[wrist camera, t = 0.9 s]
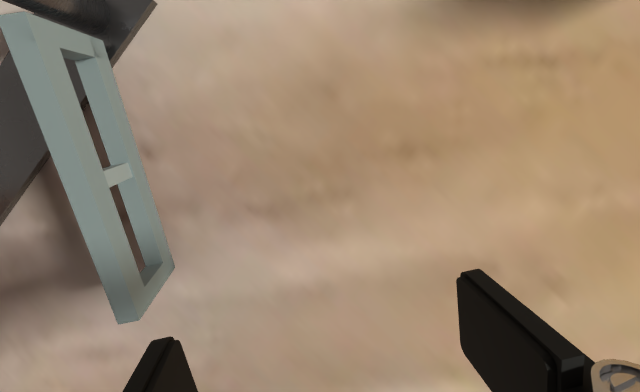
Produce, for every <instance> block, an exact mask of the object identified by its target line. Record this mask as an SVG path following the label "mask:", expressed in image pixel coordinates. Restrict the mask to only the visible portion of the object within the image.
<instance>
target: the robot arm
mask: <svg viewBox="0 0 640 392" xmlns="http://www.w3.org/2000/svg"><path fill="white" fill-rule="evenodd" d="M456 283H457V298H458V314H459V329H460V343H461V348H462V350H463V352H464V354H465V356H466V357H467V358H468V360H469V361H470V363H471V364H472V365H473V367H474V368H475V369H476V371H477V372H478V373H479V375H480V376H481V377H482V379H483V380H484V382H485V383H486V384H487V386H488V387H489V388H490V390H491V391H492V392H640V365H638V364H634V363H631V362H628V361H623V360H616V359H607V360H601V361H599V362H596V363H595V362H594V361H592V360H591V359H590V358H589V357H587V356H586V355H585V354H584V353H582V352H581V351H580V350H579V349H578V348H576V347H575V346H574V345H573V344H571V343H570V342H569V341H568V340H567V339H565V338H564V337H563V336H562V335H560V334H559V333H558V332H557V331H556V330H554V329H553V328H552V327H551V326H549V325H548V324H547V323H546V322H545V321H543V320H542V319H541V318H540V317H538V316H537V315H536V314H535V313H534V312H532V311H531V310H530V309H529V308H527V307H526V306H525V305H523V304H522V303H521V302H520V301H518V300H517V299H516V298H515V297H514V296H512V295H511V294H510V293H509V292H507V291H506V290H505V289H504V288H503V287H501V286H500V285H499V284H498V283H496V282H495V281H494V280H493V279H492V278H490V277H489V276H488V275H487V274H485V273H484V272H483V271H482V270H480V269H475V270H470V271H466V272H462V273H461V275H460V277H459V278H457V282H456ZM123 392H198V391H197V388H196V385H195V382H194V379H193V377H192V374H191V371H190V368H189V365H188V363H187V360H186V357H185V354H184V351H183V348H182V346H181V343H180V341H179V340H174V338H173V337H166V338H162V339H157V340H153V341H151V343H150V344H149V346H148V348H147V349H146V351H145V353H144V355H143V356H142V358H141V360H140V362H139V364H138V365H137V367H136V369H135V371H134V372H133V374H132V376H131V378H130V379H129V381H128V383H127V385H126V387H125V388H124V390H123Z"/></svg>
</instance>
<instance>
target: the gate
mask: <svg viewBox="0 0 640 392" xmlns="http://www.w3.org/2000/svg"><path fill="white" fill-rule="evenodd" d="M0 27H1V29H2V32H3V35H4V37H5V40H6V42H7V45H8V47H9V50H10V52H11V55H12V57H13V60H14V62H15V65H16V67H17V70H18V72H19V75H20V78H21V80H22V83H23V85H24V88H25V90H26V93H27V95H28V98H29V100H30V103H31V105H32V108H33V110H34V113H35V115H36V118H37V121H38V123H39V126H40V128H41V131H42V133H43V136H44V138H45V141H46V143H47V146H48V148H49V151H50V153H51V156H52V158H53V161H54V164H55V166H56V169H57V171H58V174H59V176H60V179H61V181H62V184H63V186H64V189H65V191H66V194H67V196H68V199H69V201H70V204H71V206H72V209H73V212H74V214H75V217H76V219H77V222H78V224H79V227H80V229H81V232H82V234H83V237H84V239H85V242H86V244H87V247H88V249H89V252H90V255H91V257H92V260H93V262H94V265H95V267H96V270H97V272H98V275H99V277H100V280H101V282H102V285H103V287H104V290H105V292H106V295H107V298H108V300H109V303H110V305H111V308H112V310H113V313H114V315H115V318H116V320H117V323H118V324H123V323H128V322H133V321H138V320H140V319H141V317H142V316H143V314H144V313H145V311H146V310H147V308H148V307H149V305H150V304H151V302H152V301H153V299H154V298H155V297H156V295H157V294H158V292H159V291H160V289H161V288H162V286H163V285H164V283H165V282H166V280H167V279H168V277H169V276H170V274H171V273H172V271H173V270H174V268H175V265H174V262H173V259H172V256H171V253H170V250H169V247H168V243H167V240H166V237H165V234H164V231H163V228H162V225H161V221H160V218H159V215H158V212H157V209H156V206H155V203H154V200H153V196H152V193H151V190H150V187H149V184H148V181H147V178H146V174H145V171H144V168H143V165H142V162H141V159H140V156H139V152H138V149H137V146H136V143H135V140H134V137H133V134H132V130H131V127H130V124H129V121H128V118H127V115H126V112H125V109H124V105H123V102H122V99H121V96H120V93H119V90H118V87H117V83H116V80H115V77H114V74H113V71H112V68H111V65H110V61H109V58H108V55H107V52H106V49H105V46H104V43H103V40H100V39H97V38H95V37H92V36H89V35H87V34H84V33H81V32H78V31H76V30H73V29H70V28H68V27H65V26H62V25H60V24H57V23H54V22H52V21H49V20H46V19H43V18H41V17H38V16H35V15H33V14H30V13H27V12H18V13H11V14H4V15H0ZM63 58H66V59H70V60H74V61H75V64H76V66H77V69H78V72H79V75H80V78H81V81H82V84H83V87H84V90H85V92H86V95H87V98H88V101H89V104H90V107H91V110H92V113H93V115H94V118H95V121H96V124H97V127H98V130H99V133H100V136H101V139H102V141H103V144H104V147H105V150H106V153H107V156H108V159H109V162H110V165H111V166H109V167H106V168H103V169H102V166H101V163H100V160H99V158H98V155H97V152H96V149H95V146H94V143H93V141H92V138H91V135H90V132H89V129H88V127H87V124H86V121H85V118H84V115H83V112H82V110H81V107H80V104H79V101H78V98H77V96H76V93H75V90H74V87H73V84H72V81H71V79H70V76H69V73H68V70H67V67H66V65H65V62H64V59H63ZM116 184H117V185H118V188H119V190H120V193H121V196H122V199H123V202H124V205H125V208H126V211H127V214H128V216H129V219H130V222H131V225H132V228H133V231H134V234H135V237H136V240H137V242H138V245H139V248H140V251H141V254H142V257H143V260H144V263H145V265H146V267H145V268H144V269H143V270H142V271H141V272H140V273H139V270H138V267H137V265H136V262H135V259H134V256H133V253H132V250H131V248H130V245H129V242H128V239H127V236H126V234H125V231H124V228H123V225H122V222H121V220H120V217H119V214H118V211H117V208H116V205H115V203H114V200H113V197H112V194H111V191H110V189H109V188H110V187H112V186H114V185H116Z"/></svg>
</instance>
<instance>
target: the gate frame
mask: <svg viewBox="0 0 640 392" xmlns="http://www.w3.org/2000/svg"><path fill="white" fill-rule="evenodd" d="M3 1H5V2H8V3H10V4H13V5H16V6H18V7H21V8H23V9H26V10H29V11H31V12H34V14H33V15H35V16H38V17H41V18H43V19H46V20H49V21H52V22H54V23H57V24H60V25H62V26H65V27H68V28H70V29H73V30H76V31H78V32H81V33H84V34H87V35H89V36H92V37H95V38H97V39H100V40H103V43H104V46H105V49H106V52H107V55H108V58H109V61H110V65H111V68H112V67H113V66H114V65H115V63H116V62H117V60H118V59H119V58H120V56H121V55H122V53H123V52H124V51H125V49H126V48H127V46H128V45H129V43H130V42H131V41H132V39H133V38H134V36H135V35H136V34H137V32H138V31H139V29H140V28H141V27H142V25H143V24H144V22H145V21H146V19H147V18H148V17H149V15H150V14H151V12H152V11H153V10H154V8H155V7H156V5H157V3H156V2H155V1H154V0H3ZM63 59H64V62H65V65H66V67H67V70H68V73H69V76H70V79H71V81H72V84H73V87H74V90H75V93H76V96H77V98H78V101H79V104H80V107H81V110H83V108H84V107H85V106H86V104H87V103H88V98H87V95H86V92H85V90H84V87H83V84H82V81H81V78H80V75H79V72H78V69H77V66H76V64H75V61H74V60H70V59H66V58H63ZM50 155H51V153H50V151H49V148H48V146H47V143H46V141H45V138H44V136H43V133H42V131H41V128H40V126H39V123H38V121H37V118H36V115H35V113H34V110H33V108H32V105H31V103H30V100H29V98H28V95H27V93H26V90H25V88H24V85H23V83H22V80H21V78H20V75H19V72H18V70H17V67H16V65H15V62H14V60H13V57H12V55H11V52H10V51H9V53H8V54H7V56H6V57H5V59H4V60H3V62H2V63H1V65H0V226H1V224H2V223H3V222H4V220H5V219H6V217H7V216H8V214H9V213H10V212H11V210H12V209H13V207H14V206H15V205H16V203H17V202H18V200H19V199H20V198H21V196H22V195H23V193H24V192H25V190H26V189H27V188H28V186H29V185H30V183H31V182H32V181H33V179H34V178H35V176H36V175H37V174H38V172H39V171H40V169H41V168H42V166H43V165H44V164H45V162H46V161H47V159H48V158H49V157H50Z"/></svg>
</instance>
